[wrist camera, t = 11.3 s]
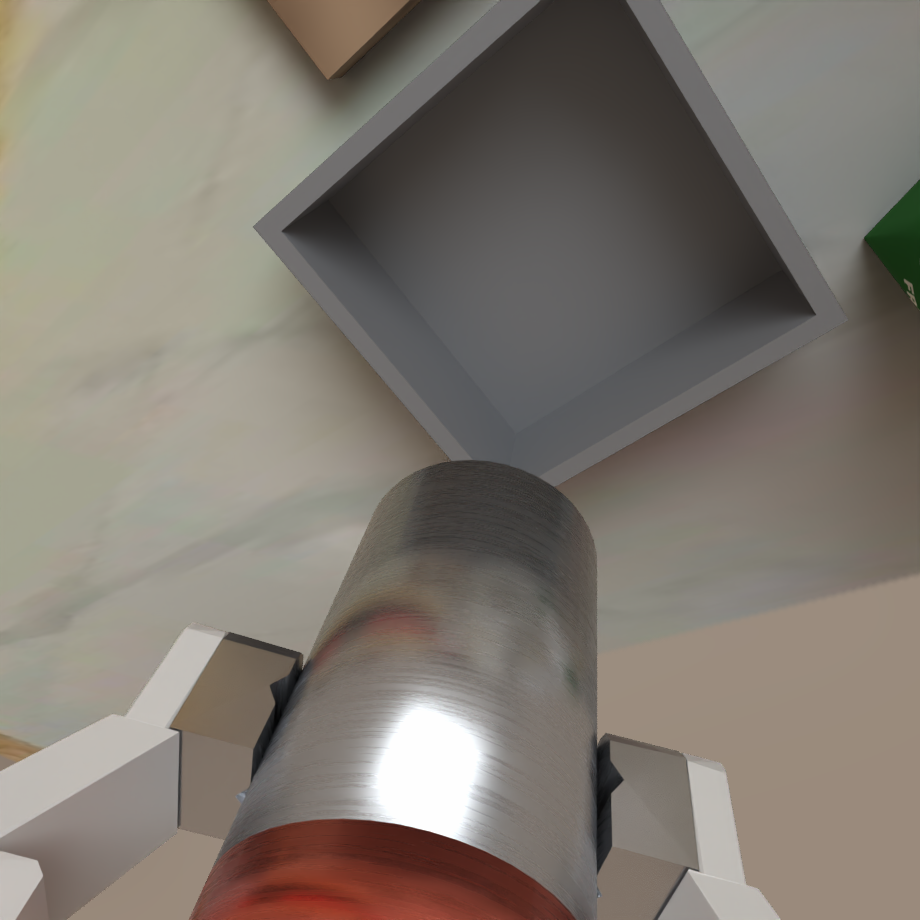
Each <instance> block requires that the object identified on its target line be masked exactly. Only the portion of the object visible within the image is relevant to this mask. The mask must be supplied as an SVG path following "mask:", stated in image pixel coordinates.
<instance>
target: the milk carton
mask: <svg viewBox="0 0 920 920" xmlns="http://www.w3.org/2000/svg"><path fill="white" fill-rule="evenodd" d="M864 239H865V240H866V242H867V243H868V244H869V246H870V247H871V248H872V249H873V251H874V252H875V253H876V255H877V256H878V257H879V259H880V260H881V261H882V263H883V264H884V265H885V266H886V268H887V269H888V270H889V272H890V273H891V274H892V276H893V277H894V278H895V280H896V281H897V282H898V284H899V285H900V286H901V288H902V289H903V290H904V292H905V293H906V294H907V295H908V297H909V298H910V299H911V301H912V302H913V303H914V305H915V306H916V307H917V308H918V310H919V311H920V180H919V181H918V182H917V183H916V184H915V185H914V186H913V187H912V188H911V189H910V190H909V191H908V192H907V193H906V194H905V195H904V197H903V198H902V199H901V200H900V201H899V202H898V203H897V204H896V205H895V206H894V207H893V208H892V209H891V210H890V211H889V212H888V213H887V214H886V215H885V216H884V217H883V218H882V219H881V221H880V222H879V223H878V224H877V225H876V226H875V227H874V228H873V229H872V230H871V231H870V232H869V233H868V234H867V235H866V236H865V237H864Z"/></svg>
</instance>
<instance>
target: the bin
mask: <svg viewBox="0 0 920 920" xmlns="http://www.w3.org/2000/svg"><path fill="white" fill-rule="evenodd" d="M253 228H254V229H255V230H256V231H257V232H258V234H259V235H260V236H261V237H262V238H263V239H264V241H265V242H266V243H267V244H268V245H269V247H270V248H271V249H272V250H273V251H274V252H275V254H276V255H277V256H278V257H279V258H280V259H281V261H282V262H283V263H284V264H285V265H286V267H287V268H288V269H289V270H290V271H291V272H292V274H293V275H294V276H295V277H296V278H297V279H298V281H299V282H300V283H301V284H302V285H303V287H304V288H305V289H306V290H307V291H308V292H309V294H310V295H311V296H312V297H313V298H314V300H315V301H316V302H317V303H318V304H319V305H320V307H321V308H322V309H323V310H324V311H325V312H326V314H327V315H328V316H329V317H330V318H331V320H332V321H333V322H334V323H335V324H336V325H337V327H338V328H339V329H340V330H341V331H342V332H343V334H344V335H345V336H346V337H347V338H348V340H349V341H350V342H351V343H352V344H353V345H354V347H355V348H356V349H357V350H358V351H359V353H360V354H361V355H362V356H363V357H364V358H365V360H366V361H367V362H368V363H369V364H370V365H371V367H372V368H373V369H374V370H375V371H376V373H377V374H378V375H379V376H380V377H381V378H382V380H383V381H384V382H385V383H386V384H387V385H388V387H389V388H390V389H391V390H392V391H393V393H394V394H395V395H396V396H397V397H398V398H399V400H400V401H401V402H402V403H403V404H404V406H405V407H406V408H407V409H408V410H409V411H410V413H411V414H412V415H413V416H414V417H415V418H416V420H417V421H418V422H419V423H420V424H421V426H422V427H423V428H424V429H425V430H426V431H427V433H428V434H429V435H430V436H431V437H432V438H433V440H434V441H435V442H436V443H437V444H438V446H439V447H440V448H441V449H442V450H443V451H444V453H445V454H446V455H447V456H448V457H449V458H450V460H451V461H457V460H481V461H491V462H496V463H501V464H506V465H509V466H513V467H516V468H519V469H522V470H524V471H526V472H529V473H531V474H533V475H535V476H537V477H539V478H541V479H542V480H544V481H546V482H547V483H549V484H550V485H552V486H553V487H556V486H558V485H559V484H561V483H563V482H565V481H566V480H568V479H570V478H572V477H573V476H575V475H577V474H579V473H580V472H582V471H584V470H586V469H587V468H589V467H591V466H593V465H594V464H596V463H598V462H600V461H602V460H603V459H605V458H607V457H609V456H610V455H612V454H614V453H616V452H617V451H619V450H621V449H623V448H624V447H626V446H628V445H630V444H631V443H633V442H635V441H637V440H638V439H640V438H642V437H644V436H645V435H647V434H649V433H651V432H653V431H654V430H656V429H658V428H660V427H661V426H663V425H665V424H667V423H668V422H670V421H672V420H674V419H675V418H677V417H679V416H681V415H682V414H684V413H686V412H688V411H689V410H691V409H693V408H695V407H697V406H698V405H700V404H702V403H704V402H705V401H707V400H709V399H711V398H712V397H714V396H716V395H718V394H719V393H721V392H723V391H725V390H726V389H728V388H730V387H732V386H733V385H735V384H737V383H739V382H741V381H742V380H744V379H746V378H748V377H749V376H751V375H753V374H755V373H756V372H758V371H760V370H762V369H763V368H765V367H767V366H769V365H770V364H772V363H774V362H776V361H777V360H779V359H781V358H783V357H784V356H786V355H788V354H790V353H792V352H793V351H795V350H797V349H799V348H800V347H802V346H804V345H806V344H807V343H809V342H811V341H813V340H814V339H816V338H818V337H820V336H821V335H823V334H825V333H827V332H828V331H830V330H832V329H834V328H836V327H837V326H839V325H841V324H843V323H844V322H846V321H848V318H847V317H846V315H845V313H844V312H843V310H842V308H841V307H840V305H839V303H838V302H837V300H836V298H835V296H834V295H833V293H832V291H831V290H830V288H829V286H828V285H827V283H826V281H825V279H824V278H823V276H822V274H821V273H820V271H819V269H818V268H817V266H816V264H815V263H814V261H813V259H812V257H811V256H810V254H809V252H808V251H807V249H806V247H805V246H804V244H803V242H802V241H801V239H800V237H799V235H798V234H797V232H796V230H795V229H794V227H793V225H792V224H791V222H790V220H789V219H788V217H787V215H786V213H785V212H784V210H783V208H782V207H781V205H780V203H779V202H778V200H777V198H776V197H775V195H774V193H773V191H772V190H771V188H770V186H769V185H768V183H767V181H766V180H765V178H764V176H763V175H762V173H761V171H760V169H759V168H758V166H757V164H756V163H755V161H754V159H753V158H752V156H751V154H750V152H749V151H748V149H747V147H746V146H745V144H744V142H743V141H742V139H741V137H740V136H739V134H738V132H737V130H736V129H735V127H734V125H733V124H732V122H731V120H730V119H729V117H728V115H727V114H726V112H725V110H724V108H723V107H722V105H721V103H720V102H719V100H718V98H717V97H716V95H715V93H714V92H713V90H712V88H711V86H710V85H709V83H708V81H707V80H706V78H705V76H704V75H703V73H702V71H701V70H700V68H699V66H698V64H697V63H696V61H695V59H694V58H693V56H692V54H691V53H690V51H689V49H688V48H687V46H686V44H685V42H684V41H683V39H682V37H681V36H680V34H679V32H678V31H677V29H676V27H675V26H674V24H673V22H672V20H671V19H670V17H669V15H668V14H667V12H666V10H665V9H664V7H663V5H662V3H661V2H660V0H500V1H499V2H498V3H497V4H496V5H495V6H494V7H493V8H492V9H491V10H489V11H488V12H487V13H486V14H485V15H484V16H483V17H482V18H481V19H480V20H478V21H477V22H476V23H475V24H474V25H473V26H472V27H471V28H470V29H469V30H468V31H466V32H465V33H464V34H463V35H462V36H461V37H460V38H459V39H458V40H457V41H455V42H454V43H453V44H452V45H451V46H450V47H449V48H448V49H447V50H446V51H445V52H443V53H442V54H441V55H440V56H439V57H438V58H437V59H436V60H435V61H434V62H432V63H431V64H430V65H429V66H428V67H427V68H426V69H425V70H424V71H423V72H422V73H420V74H419V75H418V76H417V77H416V78H415V79H414V80H413V81H412V82H411V83H410V84H408V85H407V86H406V87H405V88H404V89H403V90H402V91H401V92H400V93H399V94H397V95H396V96H395V97H394V98H393V99H392V100H391V101H390V102H389V103H388V104H387V105H385V106H384V107H383V108H382V109H381V110H380V111H379V112H378V113H377V114H376V115H374V116H373V117H372V118H371V119H370V120H369V121H368V122H367V123H366V124H365V125H364V126H362V127H361V128H360V129H359V130H358V131H357V132H356V133H355V134H354V135H353V136H351V137H350V138H349V139H348V140H347V141H346V142H345V143H344V144H343V145H342V146H341V147H339V148H338V149H337V150H336V151H335V152H334V153H333V154H332V155H331V156H330V157H328V158H327V159H326V160H325V161H324V162H323V163H322V164H321V165H320V166H319V167H318V168H316V169H315V170H314V171H313V172H312V173H311V174H310V175H309V176H308V177H307V178H305V179H304V180H303V181H302V182H301V183H300V184H299V185H298V186H297V187H296V188H295V189H293V190H292V191H291V192H290V193H289V194H288V195H287V196H286V197H285V198H284V199H282V200H281V201H280V202H279V203H278V204H277V205H276V206H275V207H274V208H273V209H272V210H270V211H269V212H268V213H267V214H266V215H265V216H264V217H263V218H262V219H261V220H260V221H258V222H257V223H256V224H255V225H254V226H253Z"/></svg>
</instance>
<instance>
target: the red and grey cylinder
mask: <svg viewBox="0 0 920 920" xmlns="http://www.w3.org/2000/svg"><path fill="white" fill-rule="evenodd" d="M189 920H597V555H596V549H595V545H594V540H593V538H592V535H591V533H590V530H589V528H588V526H587V524H586V522H585V521H584V519H583V517H582V515H581V514H580V513H579V511H578V510H577V509H576V508H575V506H574V505H573V504H572V503H571V502H570V501H569V500H568V499H567V498H566V497H565V496H564V495H563V494H562V493H561V492H560V491H558V490H557V489H556V488H554V487H553V486H552V485H550V484H549V483H547V482H546V481H544V480H542V479H541V478H539V477H537V476H535V475H533V474H531V473H529V472H526V471H524V470H522V469H519V468H516V467H513V466H509V465H506V464H501V463H496V462H491V461H481V460H457V461H451V462H444V463H440V464H436V465H433V466H429V467H426V468H424V469H422V470H419V471H417V472H415V473H413V474H411V475H409V476H408V477H406V478H404V479H403V480H401V481H400V482H399V483H398V484H396V485H395V486H394V487H393V488H392V489H391V490H390V491H389V492H388V493H387V494H386V495H385V496H384V497H383V498H382V500H381V502H380V503H379V505H378V506H377V508H376V509H375V512H374V514H373V516H372V518H371V520H370V523H369V525H368V527H367V529H366V531H365V533H364V536H363V538H362V540H361V542H360V544H359V547H358V549H357V551H356V553H355V555H354V558H353V560H352V562H351V564H350V566H349V569H348V571H347V573H346V575H345V577H344V580H343V582H342V584H341V586H340V588H339V591H338V593H337V595H336V597H335V599H334V602H333V604H332V606H331V608H330V610H329V613H328V615H327V617H326V619H325V621H324V624H323V626H322V628H321V630H320V632H319V635H318V637H317V639H316V641H315V643H314V646H313V648H312V650H311V652H310V654H309V657H308V659H307V661H306V663H305V665H304V668H303V670H302V672H301V674H300V676H299V679H298V681H297V683H296V685H295V687H294V690H293V692H292V694H291V696H290V698H289V701H288V703H287V705H286V707H285V709H284V712H283V714H282V716H281V718H280V720H279V723H278V725H277V727H276V729H275V731H274V734H273V736H272V738H271V740H270V742H269V745H268V747H267V749H266V751H265V753H264V756H263V758H262V760H261V762H260V764H259V767H258V769H257V771H256V773H255V775H254V778H253V780H252V782H251V784H250V786H249V789H248V791H247V793H246V795H245V797H244V799H243V802H242V804H241V806H240V808H239V810H238V813H237V815H236V817H235V819H234V821H233V824H232V826H231V828H230V830H229V832H228V835H227V837H226V839H225V841H224V843H223V846H222V848H221V850H220V853H219V854H218V857H217V859H216V861H215V863H214V866H213V868H212V870H211V872H210V874H209V876H208V879H207V881H206V883H205V886H204V887H203V890H202V892H201V894H200V896H199V898H198V901H197V903H196V905H195V907H194V909H193V912H192V914H191V916H190V918H189Z"/></svg>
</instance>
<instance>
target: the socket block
mask: <svg viewBox="0 0 920 920" xmlns="http://www.w3.org/2000/svg"><path fill="white" fill-rule="evenodd" d="M267 1H268V2H269V4H270V5H271V6H272V8H273V9H274V10H275V12H276V13H277V14H278V16H279V17H280V18H281V20H282V21H283V22H284V23H285V25H286V26H287V27H288V29H289V30H290V31H291V33H292V34H293V35H294V37H295V38H296V39H297V41H298V42H299V43H300V45H301V46H302V47H303V48H304V50H305V51H306V52H307V54H308V55H309V56H310V58H311V59H312V60H313V62H314V63H315V64H316V66H317V67H318V68H319V70H320V71H321V72H322V73H323V75H324V76H325V77H326V79H327V80H330V79H335V78H340V77H342V76H343V75H344V74H345V73H346V72H347V71H348V70H349V69H350V68H351V67H353V66H354V65H355V64H356V63H357V62H358V61H359V60H360V59H361V58H362V57H363V56H364V55H365V54H366V53H367V52H368V51H369V50H370V49H371V48H372V47H373V46H374V45H375V44H376V43H377V42H378V41H379V40H381V39H382V38H383V37H384V36H385V35H386V34H387V33H388V32H389V31H390V30H391V29H392V28H393V27H394V26H395V25H396V24H397V23H398V22H399V21H400V20H401V19H402V18H403V17H404V16H405V15H406V14H407V13H409V12H410V11H411V10H412V9H413V8H414V7H415V6H416V5H417V4H418V3H419V2H420V1H421V0H267Z"/></svg>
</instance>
